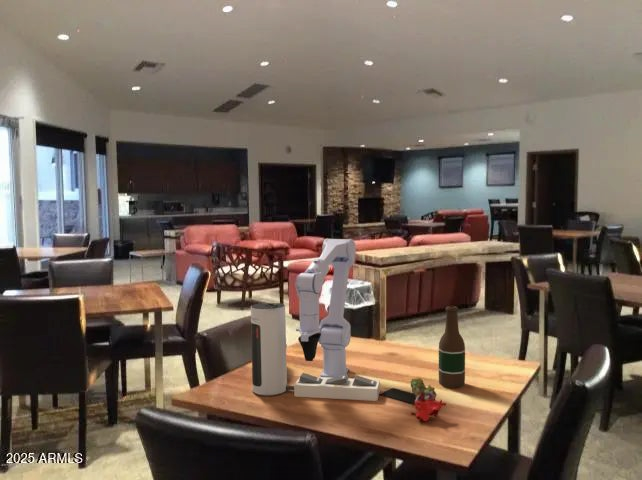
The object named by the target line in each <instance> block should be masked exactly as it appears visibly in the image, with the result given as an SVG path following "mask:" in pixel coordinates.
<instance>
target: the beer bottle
mask: <svg viewBox="0 0 642 480" xmlns="http://www.w3.org/2000/svg"><path fill="white" fill-rule="evenodd" d="M445 311H446V315H445V328H444V333H443V334H442V336H441V338H440V340H439V342H438V384H439V385H440V386H442V387H443V388H447V389H461V388H462V387H463V386H465V384H466V383H465V381H466V344H465V340H464V339H463V336H462V335H461V334H460V330H459V320H458V319H459V318H458V315H459V314H458V311H459V308H458V306H455V305H448V306H445Z"/></svg>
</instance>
